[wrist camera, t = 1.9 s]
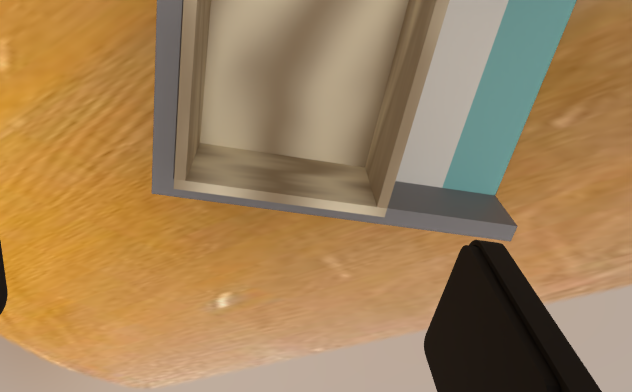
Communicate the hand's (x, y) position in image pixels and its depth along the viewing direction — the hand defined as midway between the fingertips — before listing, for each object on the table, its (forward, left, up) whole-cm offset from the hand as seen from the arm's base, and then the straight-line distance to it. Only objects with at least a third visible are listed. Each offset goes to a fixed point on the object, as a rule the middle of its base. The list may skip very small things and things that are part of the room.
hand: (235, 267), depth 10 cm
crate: (-2, 0, -22) cm, 22 cm away
